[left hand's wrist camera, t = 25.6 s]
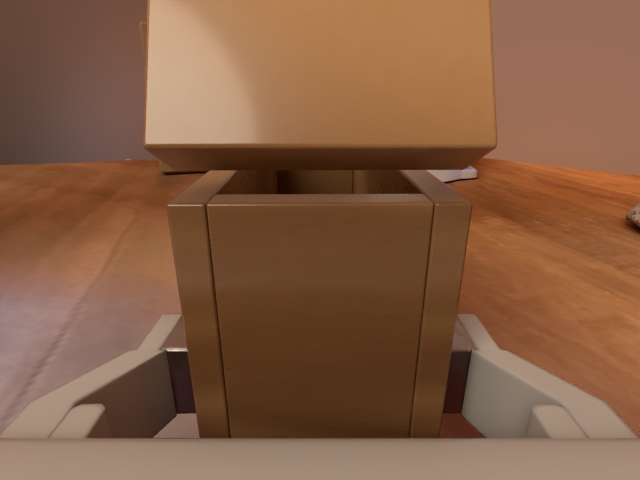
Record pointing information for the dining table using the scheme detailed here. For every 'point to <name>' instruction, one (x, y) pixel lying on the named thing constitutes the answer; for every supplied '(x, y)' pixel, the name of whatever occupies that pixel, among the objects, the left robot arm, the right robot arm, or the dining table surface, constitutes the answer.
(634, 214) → the rock
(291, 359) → the chest
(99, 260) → the dining table surface
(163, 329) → the left robot arm
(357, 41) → the lid
